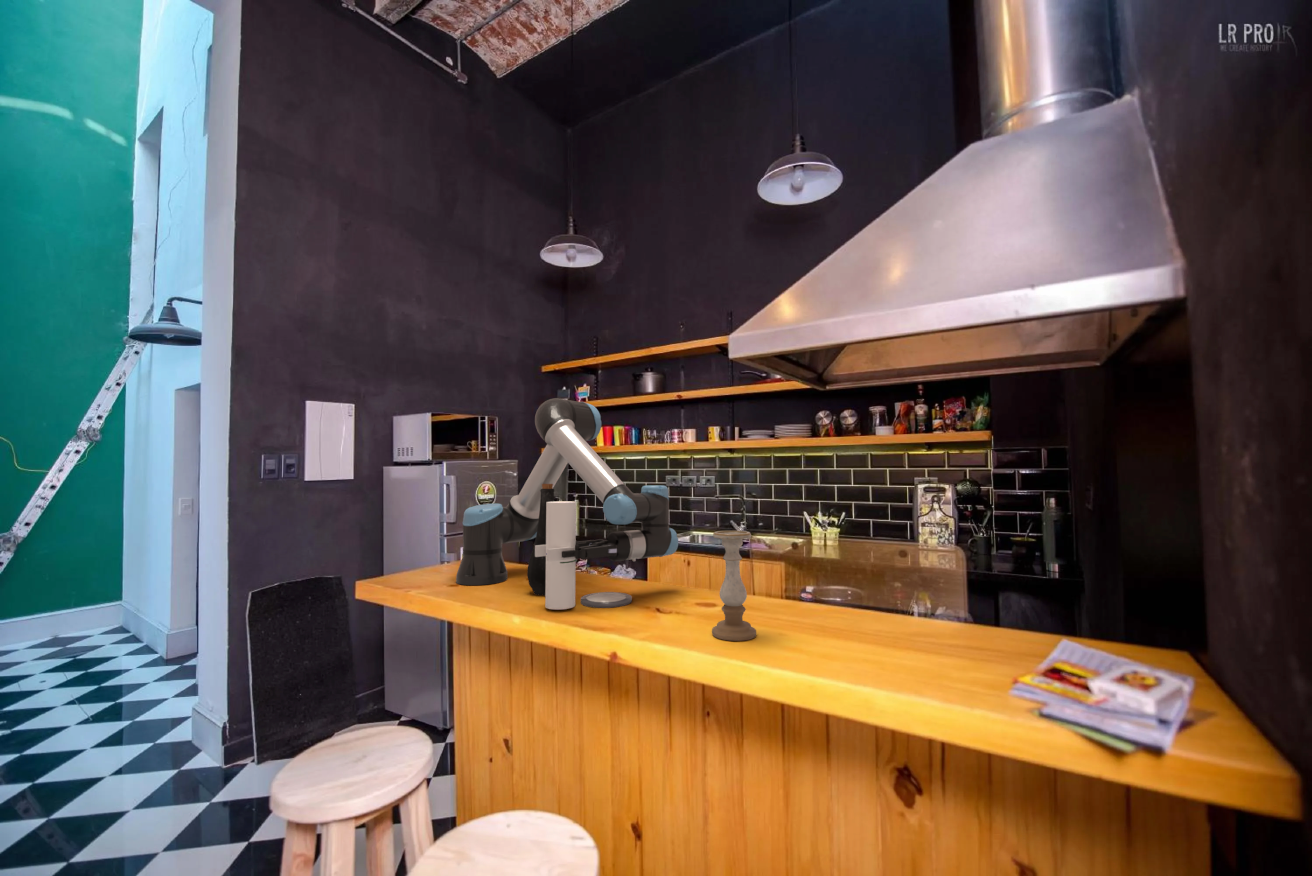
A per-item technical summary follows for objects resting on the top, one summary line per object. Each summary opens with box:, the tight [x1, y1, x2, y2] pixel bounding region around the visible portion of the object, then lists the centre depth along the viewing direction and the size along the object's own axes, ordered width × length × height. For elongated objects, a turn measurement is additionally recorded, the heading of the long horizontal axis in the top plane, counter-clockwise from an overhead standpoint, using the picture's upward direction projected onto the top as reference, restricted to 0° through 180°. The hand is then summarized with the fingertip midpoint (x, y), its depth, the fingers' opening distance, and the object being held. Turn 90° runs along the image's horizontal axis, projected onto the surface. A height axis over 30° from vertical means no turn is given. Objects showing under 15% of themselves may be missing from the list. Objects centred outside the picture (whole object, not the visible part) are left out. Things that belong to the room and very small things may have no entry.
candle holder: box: [711, 530, 757, 642], centre depth 106 cm, size 9×9×20 cm
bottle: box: [526, 484, 555, 597], centre depth 146 cm, size 11×11×30 cm
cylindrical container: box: [544, 500, 577, 610], centre depth 128 cm, size 7×7×25 cm
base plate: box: [580, 591, 633, 609], centre depth 134 cm, size 13×13×1 cm
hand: (541, 553), depth 125 cm, fingers closed on cylindrical container, 7 cm apart
